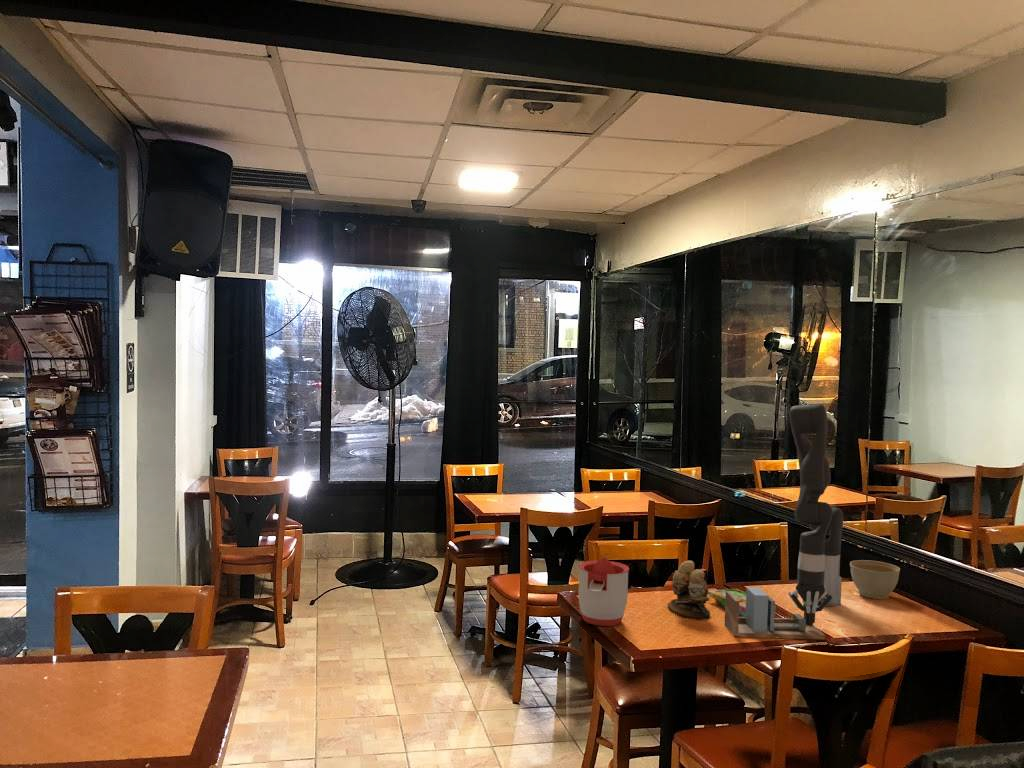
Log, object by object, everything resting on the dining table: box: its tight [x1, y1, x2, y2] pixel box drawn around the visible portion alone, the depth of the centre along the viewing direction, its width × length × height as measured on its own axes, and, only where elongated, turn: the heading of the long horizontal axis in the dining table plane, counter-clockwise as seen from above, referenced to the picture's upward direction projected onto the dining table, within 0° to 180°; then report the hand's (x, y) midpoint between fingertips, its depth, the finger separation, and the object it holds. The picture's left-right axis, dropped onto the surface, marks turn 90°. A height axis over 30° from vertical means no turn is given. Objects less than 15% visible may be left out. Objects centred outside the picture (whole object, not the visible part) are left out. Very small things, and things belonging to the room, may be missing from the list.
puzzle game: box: [707, 588, 777, 617], centre depth 251 cm, size 12×5×20 cm
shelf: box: [724, 591, 826, 640], centre depth 229 cm, size 27×10×11 cm, turn 90°
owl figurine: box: [667, 560, 711, 621], centre depth 245 cm, size 18×12×17 cm, turn 21°
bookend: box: [767, 595, 806, 631], centre depth 229 cm, size 11×8×9 cm
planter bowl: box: [849, 559, 901, 600], centre depth 271 cm, size 16×16×11 cm
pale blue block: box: [745, 587, 769, 632], centre depth 229 cm, size 4×8×11 cm, turn 0°
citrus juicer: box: [578, 556, 630, 628], centre depth 233 cm, size 16×17×20 cm
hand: (809, 624), depth 228 cm, fingers closed
